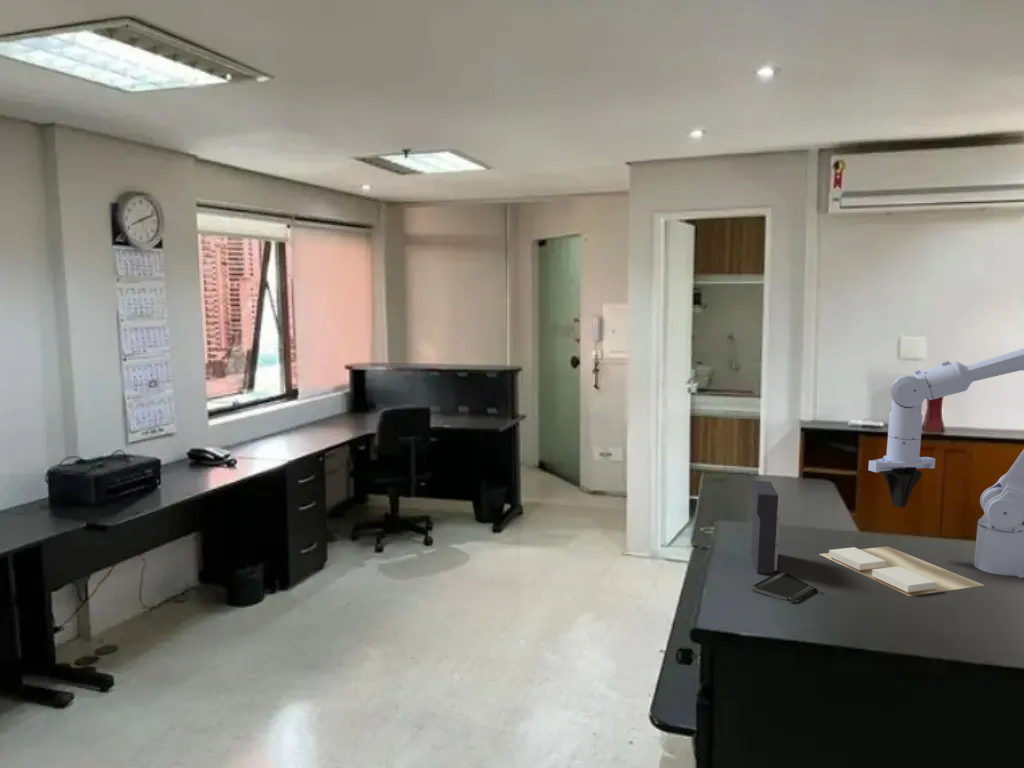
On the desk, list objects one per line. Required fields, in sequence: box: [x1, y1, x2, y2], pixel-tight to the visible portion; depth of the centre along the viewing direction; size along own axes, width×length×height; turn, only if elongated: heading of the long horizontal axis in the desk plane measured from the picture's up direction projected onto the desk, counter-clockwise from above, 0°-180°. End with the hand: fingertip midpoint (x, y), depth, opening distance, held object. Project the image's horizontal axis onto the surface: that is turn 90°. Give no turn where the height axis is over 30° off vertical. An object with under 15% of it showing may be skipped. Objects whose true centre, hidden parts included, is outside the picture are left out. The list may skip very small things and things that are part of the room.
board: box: [818, 545, 985, 597], centre depth 144 cm, size 17×22×1 cm
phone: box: [752, 570, 819, 602], centre depth 136 cm, size 8×1×15 cm
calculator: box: [750, 480, 781, 575], centre depth 146 cm, size 11×4×15 cm, turn 168°
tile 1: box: [828, 547, 886, 571], centre depth 146 cm, size 2×8×6 cm
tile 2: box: [872, 566, 936, 593], centre depth 136 cm, size 2×8×6 cm
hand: (899, 505), depth 151 cm, fingers closed
